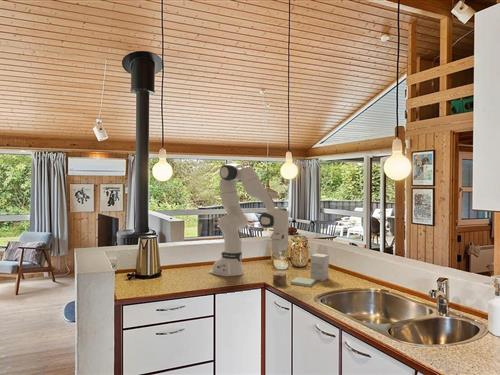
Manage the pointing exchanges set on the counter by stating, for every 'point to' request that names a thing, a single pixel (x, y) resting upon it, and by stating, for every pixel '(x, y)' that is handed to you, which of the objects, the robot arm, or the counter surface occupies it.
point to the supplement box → (319, 267)
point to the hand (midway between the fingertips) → (280, 257)
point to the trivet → (303, 281)
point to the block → (279, 279)
